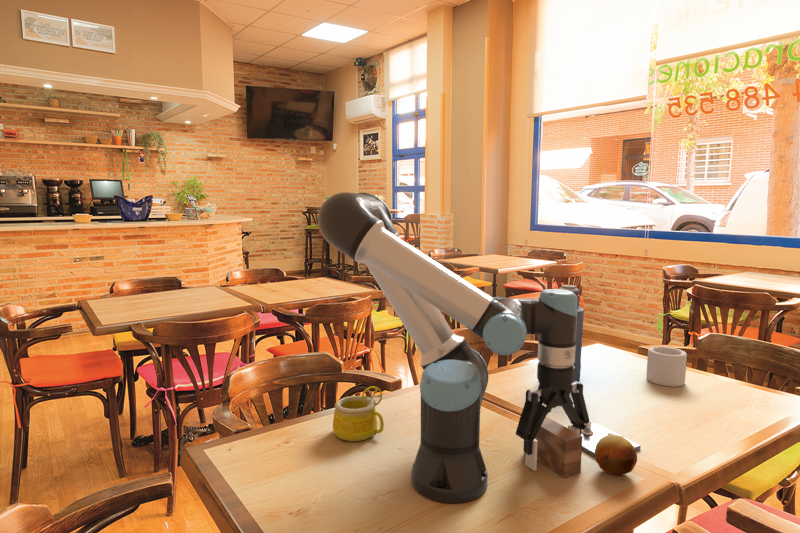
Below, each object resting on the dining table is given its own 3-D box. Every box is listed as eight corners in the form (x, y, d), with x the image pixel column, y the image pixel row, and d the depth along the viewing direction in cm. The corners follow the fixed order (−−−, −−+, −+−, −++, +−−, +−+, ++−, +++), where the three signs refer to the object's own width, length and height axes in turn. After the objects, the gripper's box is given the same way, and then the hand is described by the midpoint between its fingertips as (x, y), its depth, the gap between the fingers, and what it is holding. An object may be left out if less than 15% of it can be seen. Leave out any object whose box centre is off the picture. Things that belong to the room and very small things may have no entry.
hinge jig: (601, 461, 108) (602, 446, 107) (558, 436, 119) (559, 422, 119) (640, 449, 113) (641, 435, 112) (595, 426, 124) (596, 413, 124)
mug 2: (692, 387, 151) (694, 355, 150) (656, 387, 151) (658, 355, 150) (668, 372, 165) (670, 343, 163) (636, 372, 165) (638, 343, 164)
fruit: (644, 479, 100) (646, 442, 99) (610, 486, 98) (612, 448, 97) (618, 461, 108) (620, 426, 107) (585, 467, 105) (587, 431, 104)
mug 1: (324, 440, 117) (323, 391, 116) (345, 421, 127) (344, 376, 126) (374, 449, 113) (374, 399, 111) (391, 429, 123) (391, 382, 121)
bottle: (543, 373, 164) (547, 283, 160) (572, 371, 165) (576, 282, 161) (555, 383, 155) (559, 288, 151) (585, 382, 156) (590, 287, 152)
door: (580, 473, 103) (582, 436, 102) (564, 478, 101) (565, 440, 100) (540, 447, 114) (542, 414, 113) (525, 451, 112) (526, 417, 111)
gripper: (523, 376, 96) (520, 483, 99) (610, 360, 106) (605, 457, 109) (499, 365, 103) (497, 465, 106) (583, 351, 113) (579, 442, 116)
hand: (552, 461), depth 107 cm, fingers open, 11 cm apart
